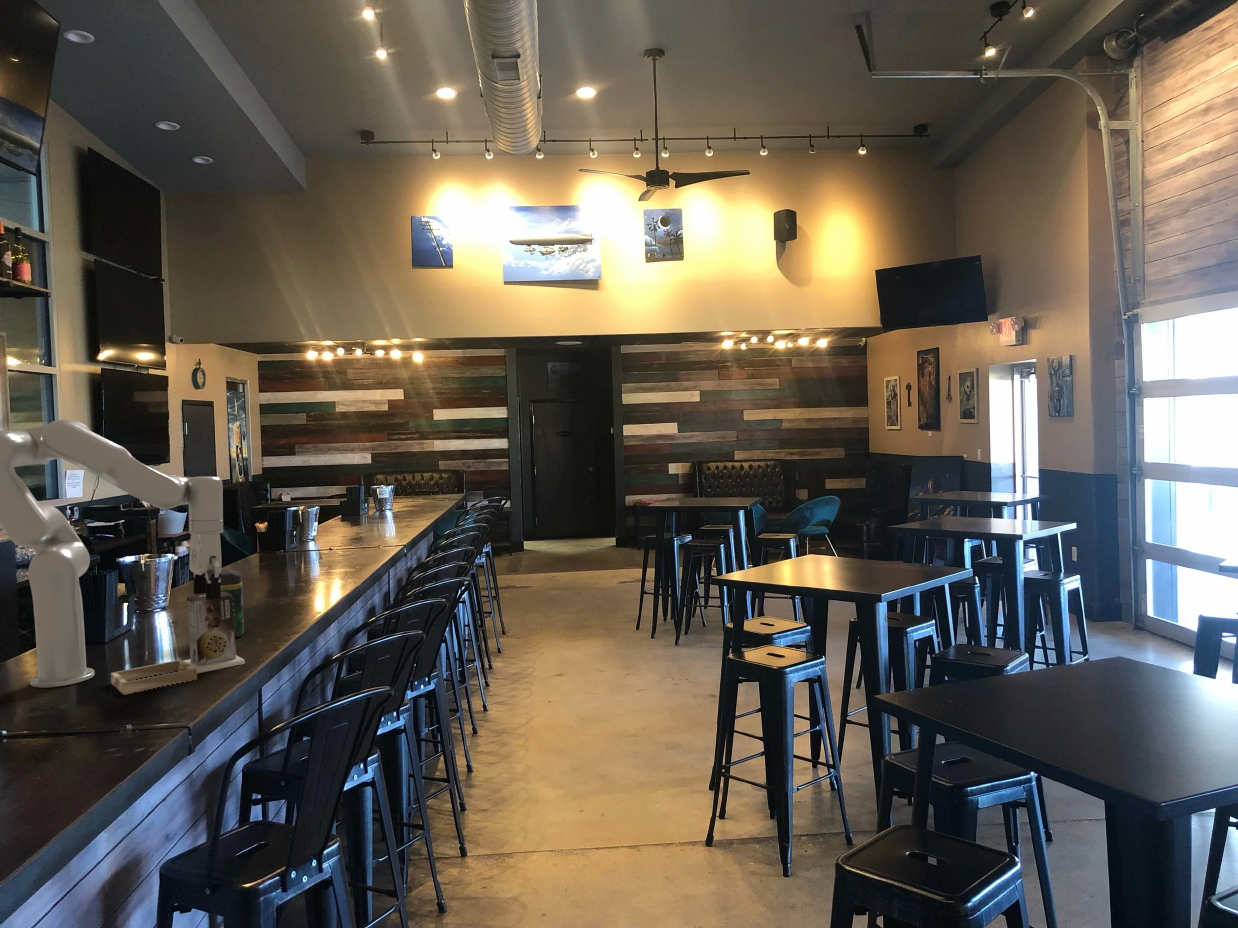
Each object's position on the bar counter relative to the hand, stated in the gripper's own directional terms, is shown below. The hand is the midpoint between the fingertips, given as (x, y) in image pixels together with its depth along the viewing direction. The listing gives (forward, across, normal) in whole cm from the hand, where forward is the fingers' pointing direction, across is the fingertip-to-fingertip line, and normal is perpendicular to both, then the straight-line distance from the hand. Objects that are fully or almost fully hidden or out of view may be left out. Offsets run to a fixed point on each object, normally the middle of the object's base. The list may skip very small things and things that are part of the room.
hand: (206, 596), depth 208 cm
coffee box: (+16, 0, +1) cm, 16 cm away
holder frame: (+17, +6, -13) cm, 22 cm away
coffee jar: (+17, -27, +14) cm, 35 cm away
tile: (+17, +1, +1) cm, 17 cm away
